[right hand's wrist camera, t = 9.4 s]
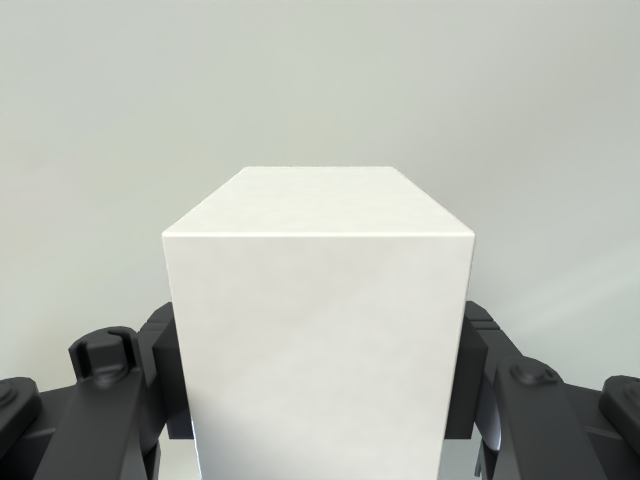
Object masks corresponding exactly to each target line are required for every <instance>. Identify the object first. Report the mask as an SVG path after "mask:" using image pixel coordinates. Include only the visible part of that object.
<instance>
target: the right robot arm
mask: <svg viewBox="0 0 640 480" xmlns="http://www.w3.org/2000/svg"><path fill="white" fill-rule="evenodd" d="M68 350H69V354H70V357H71V361H72V364H73V368H74V371H75V374H76V378H77V383H76V385H73V386H69V387H64V388H60V389H55V390H50V391H46V392H41V393H39V391H38V388H37V385H36V382H35V381H33V380H32V379H30V378H25V377H16V378H9V379H4V380H0V480H158V473H159V464H160V456H161V451H160V444H159V440H158V438H159V436H160V434H161V432H162V430H163V428H164V426H165V424H167V429H168V434H169V439H194V434H193V428H192V422H191V416H190V409H189V403H188V397H187V391H186V385H185V378H184V372H183V366H182V360H181V354H180V347H179V341H178V335H177V329H176V323H175V316H174V310H173V304H172V302H168V303H167V304H165V305H163V306H162V307H160V308H159V309H157V310H156V311H155V312H154V313H153V314H152V315H151V317H150V318H149V319H148V320H147V323H145V324H144V325H143V326H142V328H141V329H140V331H138V333H137V334H136V332H135V331H134V330H133V329H131V328H128V327H123V326H117V327H108V328H104V329H99V330H96V331H94V332H91V333H89V334H87V335H84V336H83V337H81V338H80V339H78V340H77V341H75V342H74V343H73V344H72V346H71V347H70V348H69V349H68ZM474 421H475V423H476V425H477V427H478V429H479V431H480V433H481V435H482V440H481V444H480V449H479V454H478V459H477V464H476V469H475V476H477V477H480V472H482V480H640V379H639V378H635V377H629V376H622V375H620V376H611V377H610V378H608V379H607V380H606V381H605V383H604V386H603V389H602V391H597V390H592V389H588V388H583V387H578V386H574V385H570V384H566V383H564V382H563V380H562V379H561V377H560V376H559V375H558V373H557V372H556V371H554V370H553V369H552V368H551V367H549V366H548V365H546V364H544V363H542V362H540V361H538V360H536V359H533V358H529V357H525V356H523V355H522V354H521V353H520V351H519V350H518V349H517V348H516V347H515V345H514V344H513V343H512V342H511V340H510V339H509V338H508V337H507V336H506V334H505V333H504V332H503V331H502V330H500V327H499V326H498V325H497V323H496V322H494V321H493V318H492V317H491V316H490V315H489V314H488V312H487V311H486V310H485V309H484V308H482V307H480V306H479V305H477V304H476V303H474V302H473V301H466V304H465V311H464V317H463V323H462V330H461V336H460V342H459V348H458V355H457V361H456V367H455V373H454V380H453V386H452V392H451V399H450V405H449V411H448V417H447V424H446V430H445V436H444V439H471V436H472V431H473V425H474Z"/></svg>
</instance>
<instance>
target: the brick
mask: <svg viewBox="0 0 640 480" xmlns="http://www.w3.org/2000/svg"><path fill="white" fill-rule="evenodd" d="M162 242H163V248H164V255H165V261H166V267H167V273H168V279H169V286H170V292H171V298H172V304H173V310H174V316H175V323H176V329H177V335H178V341H179V347H180V354H181V360H182V366H183V372H184V378H185V385H186V391H187V397H188V403H189V409H190V416H191V422H192V428H193V434H194V440H195V447H196V453H197V459H198V465H199V471H200V478H201V480H438V474H439V468H440V461H441V455H442V449H443V443H444V436H445V430H446V424H447V417H448V411H449V405H450V399H451V392H452V386H453V380H454V373H455V367H456V361H457V355H458V348H459V342H460V336H461V330H462V323H463V317H464V311H465V304H466V298H467V292H468V286H469V279H470V273H471V267H472V260H473V254H474V248H475V242H476V234H475V232H474V231H472V230H471V229H470V228H469V227H467V226H466V225H465V224H464V223H462V222H461V221H460V220H459V219H457V218H456V217H455V216H454V215H452V214H451V213H450V212H449V211H447V210H446V209H445V208H444V207H442V206H441V205H440V204H439V203H438V202H436V201H435V200H434V199H433V198H431V197H430V196H429V195H428V194H426V193H425V192H424V191H423V190H421V189H420V188H419V187H418V186H416V185H415V184H414V183H413V182H411V181H410V180H409V179H408V178H406V177H405V176H404V175H403V174H401V173H400V172H399V171H398V170H397V169H395V168H394V167H245V168H244V169H242V170H241V171H240V172H239V173H237V174H236V175H235V176H234V177H232V178H231V179H230V180H229V181H227V182H226V183H225V184H224V185H222V186H221V187H220V188H219V189H217V190H216V191H215V192H214V193H212V194H211V195H210V196H208V197H207V198H206V199H205V200H203V201H202V202H201V203H200V204H198V205H197V206H196V207H195V208H193V209H192V210H191V211H190V212H188V213H187V214H186V215H185V216H183V217H182V218H181V219H179V220H178V221H177V222H176V223H174V224H173V225H172V226H171V227H169V228H168V229H167V230H166V231H164V232H163V233H162Z"/></svg>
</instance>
